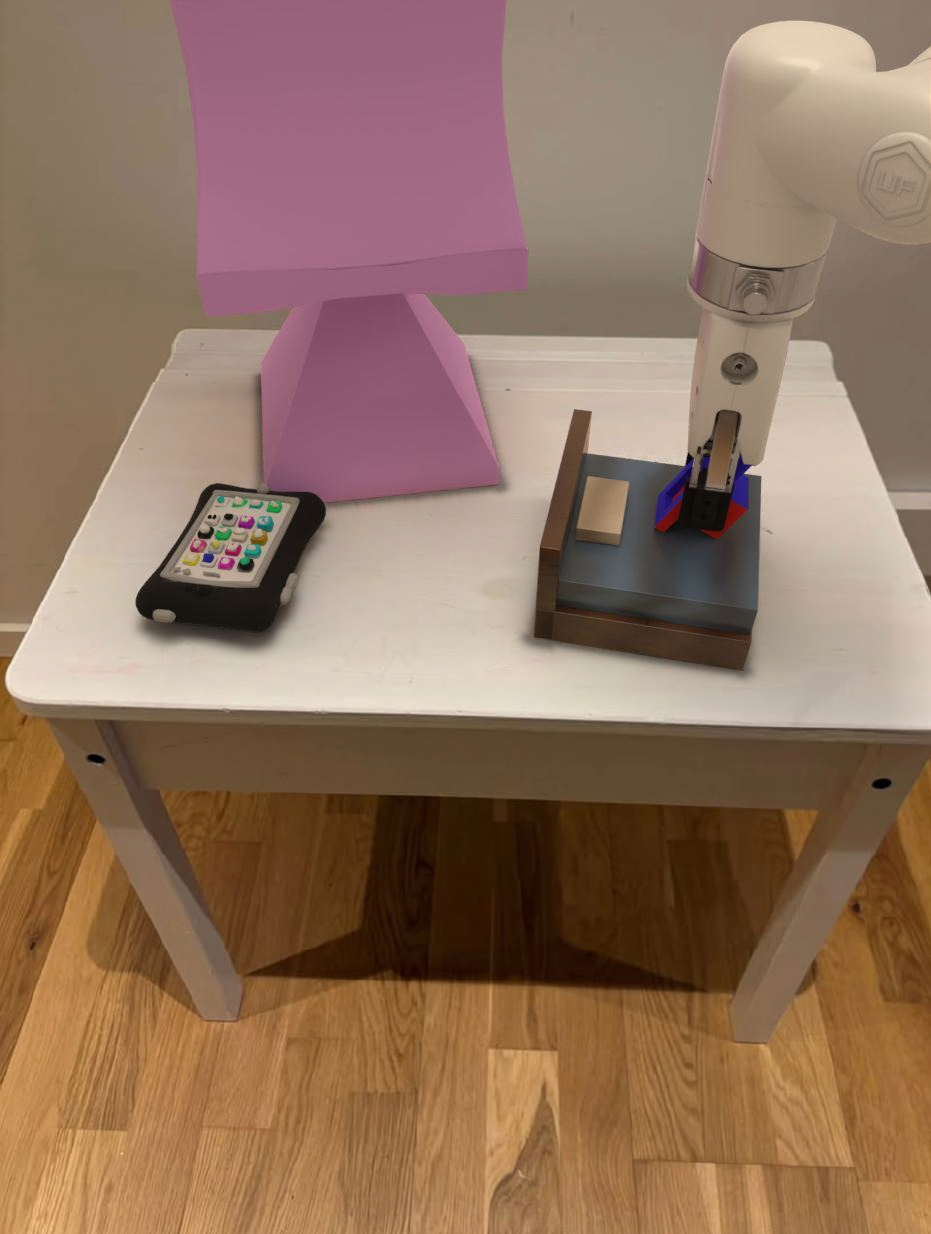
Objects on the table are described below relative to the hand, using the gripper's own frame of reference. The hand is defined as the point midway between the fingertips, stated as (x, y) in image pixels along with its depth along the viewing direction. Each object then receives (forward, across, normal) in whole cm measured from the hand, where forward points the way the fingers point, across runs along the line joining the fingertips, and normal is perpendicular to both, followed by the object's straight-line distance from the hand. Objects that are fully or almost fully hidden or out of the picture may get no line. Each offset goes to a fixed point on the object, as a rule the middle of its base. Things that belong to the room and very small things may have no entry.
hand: (702, 504), depth 71 cm
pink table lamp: (+7, +13, +29) cm, 33 cm away
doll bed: (+7, -1, +3) cm, 8 cm away
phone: (+7, -7, +34) cm, 35 cm away
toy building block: (+2, 0, 0) cm, 2 cm away
